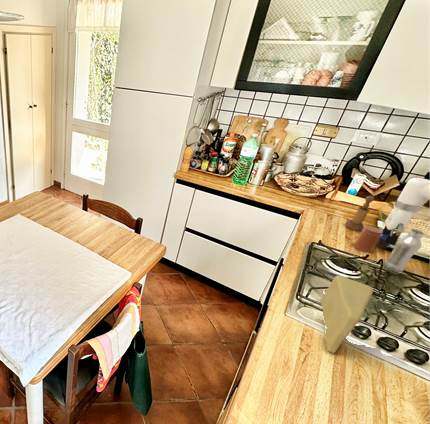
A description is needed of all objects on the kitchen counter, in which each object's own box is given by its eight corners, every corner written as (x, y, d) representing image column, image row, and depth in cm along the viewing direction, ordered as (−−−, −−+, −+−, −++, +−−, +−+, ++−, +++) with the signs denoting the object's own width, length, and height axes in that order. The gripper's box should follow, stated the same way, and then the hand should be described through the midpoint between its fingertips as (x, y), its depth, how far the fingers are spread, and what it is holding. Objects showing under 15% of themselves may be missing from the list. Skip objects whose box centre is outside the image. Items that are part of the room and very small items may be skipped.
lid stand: (386, 245, 144) (391, 237, 142) (388, 249, 141) (393, 241, 139) (373, 242, 147) (378, 234, 145) (374, 246, 144) (379, 238, 141)
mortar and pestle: (365, 231, 156) (384, 199, 147) (352, 230, 156) (370, 199, 147) (354, 224, 161) (371, 193, 153) (341, 224, 161) (358, 193, 153)
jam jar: (371, 247, 143) (383, 228, 138) (373, 254, 138) (385, 235, 133) (352, 242, 146) (363, 224, 141) (354, 249, 141) (365, 230, 136)
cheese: (351, 363, 90) (378, 328, 83) (310, 343, 96) (332, 309, 88) (352, 319, 105) (375, 286, 97) (317, 304, 110) (336, 272, 103)
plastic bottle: (393, 268, 129) (422, 228, 119) (403, 278, 123) (434, 237, 114) (374, 265, 131) (401, 225, 121) (383, 275, 125) (412, 234, 116)
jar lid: (370, 237, 144) (372, 235, 143) (378, 235, 146) (380, 232, 146) (388, 245, 139) (390, 242, 138) (396, 242, 141) (398, 239, 140)
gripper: (391, 197, 142) (374, 228, 150) (398, 211, 129) (379, 244, 137) (415, 201, 137) (395, 233, 145) (424, 216, 125) (402, 250, 133)
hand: (387, 238), depth 141 cm, fingers open, 9 cm apart
